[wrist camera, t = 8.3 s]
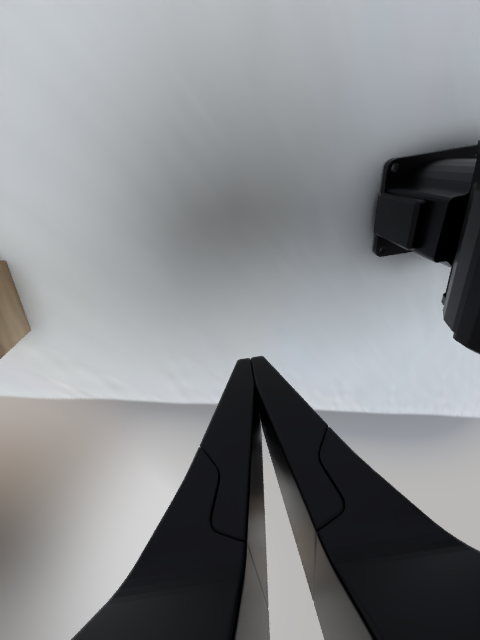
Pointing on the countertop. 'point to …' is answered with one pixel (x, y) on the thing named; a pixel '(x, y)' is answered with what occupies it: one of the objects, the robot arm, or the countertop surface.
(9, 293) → the bar
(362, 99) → the countertop surface
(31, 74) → the countertop surface
